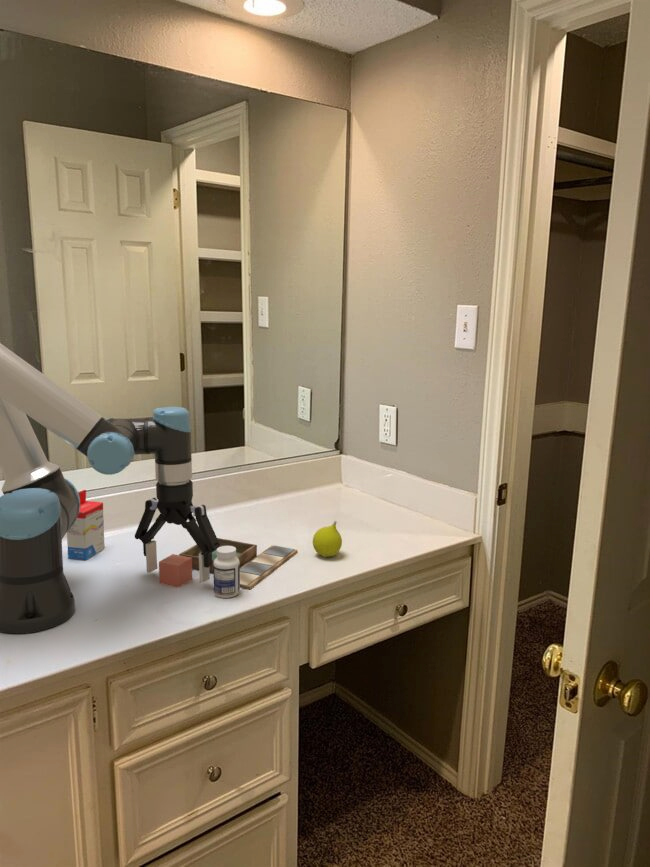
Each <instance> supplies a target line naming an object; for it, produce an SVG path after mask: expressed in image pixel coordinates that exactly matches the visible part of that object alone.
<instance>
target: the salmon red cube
mask: <svg viewBox="0 0 650 867" xmlns="http://www.w3.org/2000/svg"><path fill="white" fill-rule="evenodd" d="M158 579H159V580H158V581H159V582H158V583H159V584H161V585H165V586H170V587H175V588H181V587H182V586H184V585H185V584H187V583H188V582H190V581H191V580H193V569H192V558H191V557H186V556H180V555H179V554H175V553H171V554H170V555H169V556H167V557H164V558H163V559H161V560H160V561H158Z"/></svg>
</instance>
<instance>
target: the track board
mask: <svg viewBox="0 0 650 867" xmlns="http://www.w3.org/2000/svg"><path fill="white" fill-rule="evenodd" d="M296 554H298V549H295V548H291V547H286V546H279V545H270V547H268V548H266V549H265V550H263V551H262V552H260V554H257V556H256V557H255V558H253V559H252V560H251V561H249V562H248V563H246V564H245V565H243V566H242V567H241V568H240V589H244V590H252V588H254V587H255V586H256V585H258V584H259V583H260V582H261V581H263V580H264V579H265V578H266V577H268V576H269V575H271V574H272V573H273V572H274V571H275V570H277V569H278V568H280V567H281V566H282V565H283V564H285V563H286V562H287V561H289V560H290V559H291V558H292V557H293V556H295V555H296Z"/></svg>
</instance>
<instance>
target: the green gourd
mask: <svg viewBox="0 0 650 867" xmlns="http://www.w3.org/2000/svg"><path fill="white" fill-rule="evenodd" d="M342 545H343V538H342V536H341V534H340V532H339V531H338V529H337V520H334V521H333V523H332V524H331V525H329V526H324V527H321V528H319V529H318V530H316V532H315V533H314V534H313V538H312V547H313V549H314V550H315V552H316V553H317V554H318V555H319V556H322V557H328V558H329V557H333V556H335V555H337V554H338V553H339V551H340V550H341V549H342Z"/></svg>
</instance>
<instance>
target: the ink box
mask: <svg viewBox="0 0 650 867" xmlns="http://www.w3.org/2000/svg"><path fill="white" fill-rule="evenodd" d="M78 494H79V497H80V509H79V514H78V516H77V518H76V521H75V522H74V524H73V525H72V526H71V528H69V530H68V531H67V533H66V541H67V559H72V560H81V561H83V560H84V561H88V560H89V559H90V558H92V557H93V556H95V555H96V554H98V553H100V552H101V551H103V550H105V548H106V546H105V526H104V524H105V523H104V521H105V520H104V502H100V501H94V500H93V501H92V500H91V501H90V500H88V501H87V490H86V489H83V490H81V491H78Z"/></svg>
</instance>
